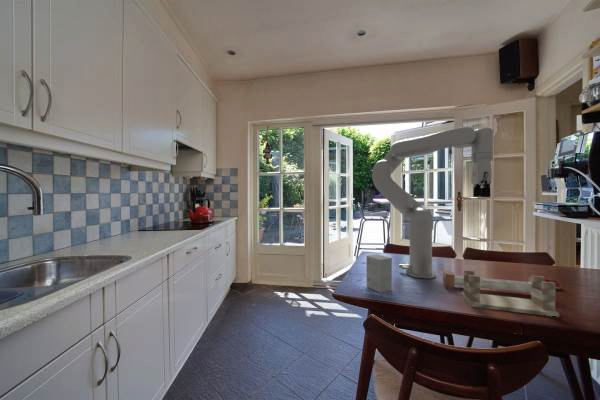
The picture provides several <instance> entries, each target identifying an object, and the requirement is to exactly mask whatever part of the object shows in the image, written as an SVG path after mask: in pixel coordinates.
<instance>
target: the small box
mask: <svg viewBox="0 0 600 400" xmlns="http://www.w3.org/2000/svg"><path fill="white" fill-rule="evenodd" d="M392 260H393V259H392V257H388V256H385V255H382V254H379V253H376V254H368V255H366V287H367V288H369V289H372V290H373V291H376V292H377V293H379V294H382V293H386V292H389V291H390V292H391V291H393V270H392V269H393V266H392V265H393V264H392V263H393V262H392Z"/></svg>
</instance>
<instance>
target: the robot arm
mask: <svg viewBox="0 0 600 400" xmlns="http://www.w3.org/2000/svg"><path fill="white" fill-rule="evenodd" d="M447 148H454V149H464V148H471V150H470V151H471V152H470V153H471V154H470V155H471V157H470V158H471V161H470V162H471V163H472V165H471V176H470V177H471V179H470V180H471V181H470V182H471V184H473V185H472V186H473V187H472V189H473V191H472V192H473V195H472V196H473V198H491V191H492V190H491V187H492V161H494V157H493V156H494V131H493V128H490V127H482V128H476V129H474V128H473V127H470V126H462V127H457V128H451V129H446V130H442V131H438V132H435V133H431V134H427V135H424V136H418V137H413V138H412V137H411V138H407V139H403V140H398V141H395V142H394V143H392V144H391V146H390V148H389V151H388V153H387V154H386V155H385V156H384V157H383V158H382V159H380V160H378V161H377V162H376V163H375V164H374V166H373V168H372V172H371V173H372V175H371V177H372V183H373V185H374V187H375V188H376V190H377V191H378V192H379V193H380V194H381V195H382V196H383V197H384V198H385V199H386V200H387V201H388V202H389V203H390V204H391V205H392V206H393V207H394V208H395V209H396V210H397V211H398V212H399V213H400V214H401V215H403V217H405V218H406V219H407V220H408V221H409V262H408V263H406V264H402V263H399V267H398V268H399V269H402V270H406V271H405V273H406V275H408V276H409V277H413V278H416V279H417V278H418V279H426V280H427V279H433V278H436V274H437V273H435V271H433V227H434V218H433V217H434V216H433V213H431V211H430V210H429V209H428V208H425V207H423V205H421V204H420V203H419V202H418V201H417V200H416V199H414V198H413V197H412V195H411V194H410V193H408V192H407V191H406V190H404V188H402V187H401V186H400V185H398V183H397V182H396V181H394V179H393V178H392V174H393V173H394V172H395V170H396V169H397V168H398V167H399V166H400V165H401V164H402V162H403V161H404V160H405V159H407V158H412V157H418V156H425V155H429V154H432V153H433V154H434V153H435V152H438V151H440V150H444V149H447Z"/></svg>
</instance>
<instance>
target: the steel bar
mask: <svg viewBox="0 0 600 400" xmlns="http://www.w3.org/2000/svg"><path fill="white" fill-rule="evenodd" d="M544 282H545V281H544ZM442 284H443V287H444V288H445V289H446V290H452V291H454V290H455V288H456V287H455V286H460V287H464V275H456V274H454V272H453V271H452V270H449V269H442ZM482 288H484V289H491V290H501V291H511V292H519V293H520V292H522V293H528V294H529V295H531V276H528V277H527V281H523V280H522V281H521V280H509V279H500V278H499V279H498V278H488V277H486V278H485V277H480V289H482Z"/></svg>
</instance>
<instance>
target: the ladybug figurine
mask: <svg viewBox="0 0 600 400" xmlns="http://www.w3.org/2000/svg"><path fill="white" fill-rule="evenodd" d="M543 277H544V276H543ZM544 281H545V282H554V283H556V287H555V290H561V288H562V287H563V286H562V285H561V284H560V283H559V281H557V280H556V279H554V278H550V277H544Z"/></svg>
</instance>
